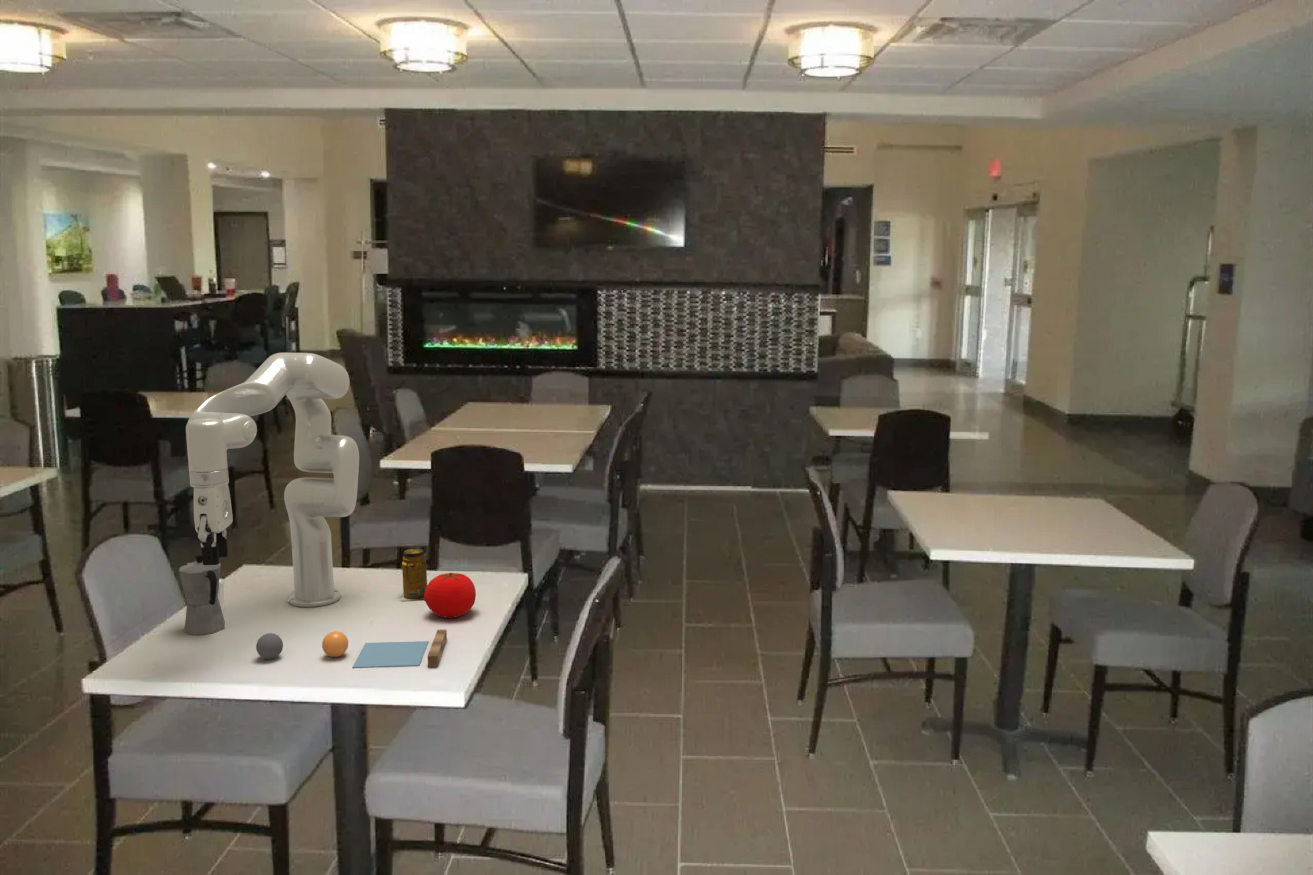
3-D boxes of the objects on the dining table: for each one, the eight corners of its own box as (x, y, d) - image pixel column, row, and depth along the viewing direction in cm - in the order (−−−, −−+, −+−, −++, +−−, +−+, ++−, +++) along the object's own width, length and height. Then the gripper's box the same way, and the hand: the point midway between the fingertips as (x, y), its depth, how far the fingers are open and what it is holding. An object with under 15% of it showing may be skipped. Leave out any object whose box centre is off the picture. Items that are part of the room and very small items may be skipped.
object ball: (326, 651, 229) (324, 628, 228) (351, 651, 229) (350, 627, 228) (320, 661, 224) (318, 637, 223) (346, 660, 224) (344, 636, 223)
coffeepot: (174, 626, 245) (168, 552, 242) (214, 616, 251) (209, 545, 248) (198, 643, 234) (191, 567, 231) (239, 633, 240) (234, 558, 237)
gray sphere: (261, 653, 228) (259, 629, 227) (286, 652, 228) (285, 629, 227) (253, 663, 223) (251, 638, 222) (279, 662, 223) (278, 638, 222)
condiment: (403, 592, 270) (401, 548, 268) (436, 590, 271) (434, 546, 269) (401, 601, 263) (398, 556, 260) (435, 599, 264) (433, 554, 262)
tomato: (467, 624, 246) (466, 581, 244) (418, 621, 248) (416, 579, 246) (482, 608, 257) (481, 567, 255) (435, 605, 259) (434, 565, 257)
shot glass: (196, 615, 253) (194, 587, 251) (196, 606, 259) (194, 579, 258) (226, 611, 255) (224, 584, 254) (225, 602, 262) (223, 576, 260)
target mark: (365, 643, 234) (365, 642, 234) (428, 641, 235) (428, 641, 235) (352, 667, 220) (352, 667, 220) (419, 665, 221) (419, 665, 221)
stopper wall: (437, 640, 236) (437, 629, 236) (446, 639, 236) (446, 629, 236) (428, 667, 220) (427, 656, 220) (437, 667, 220) (437, 656, 220)
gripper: (213, 485, 210) (220, 572, 213) (240, 468, 226) (246, 549, 230) (175, 486, 209) (182, 573, 212) (205, 469, 226) (211, 550, 229)
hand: (215, 559), depth 221 cm, fingers open, 4 cm apart
